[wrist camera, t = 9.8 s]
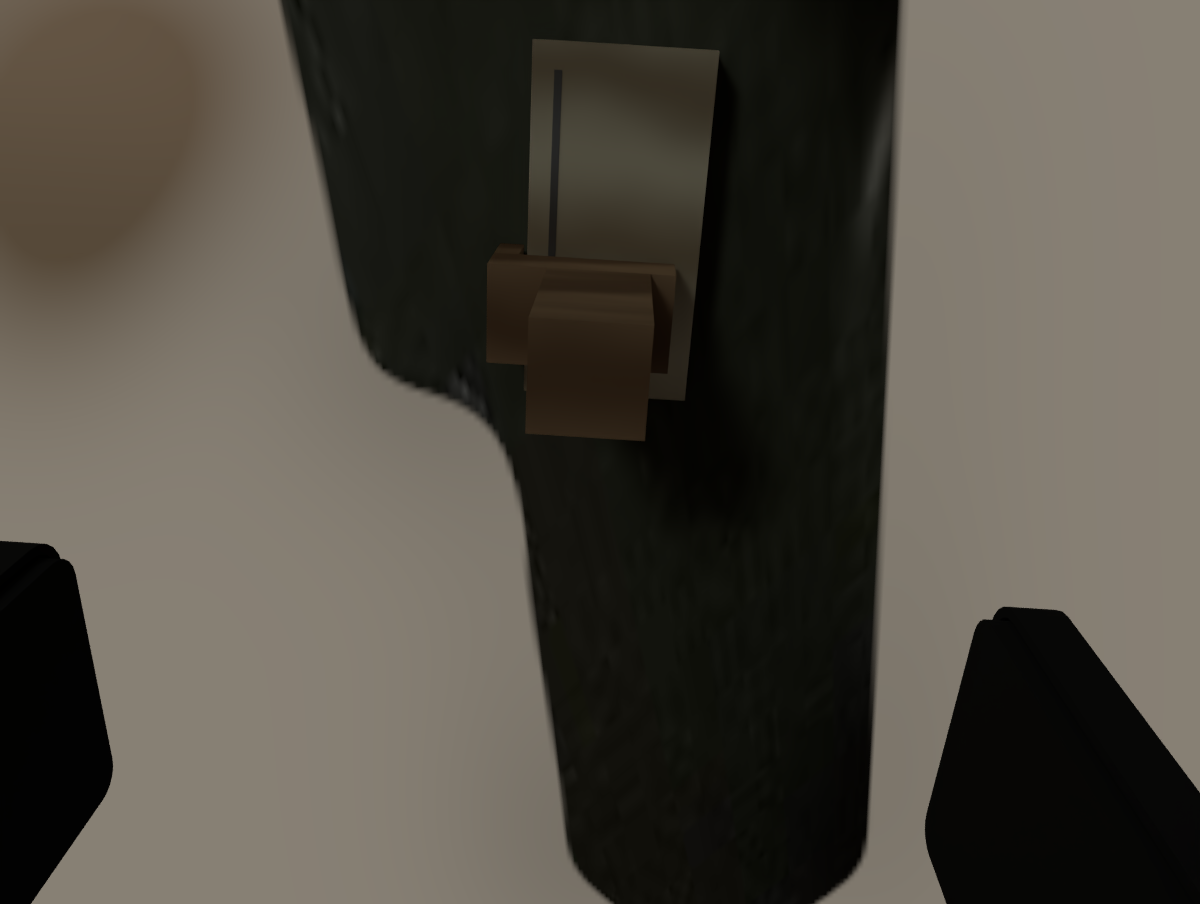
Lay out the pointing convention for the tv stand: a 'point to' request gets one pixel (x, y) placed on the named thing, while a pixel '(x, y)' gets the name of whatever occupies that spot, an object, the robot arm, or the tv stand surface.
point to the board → (623, 165)
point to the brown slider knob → (581, 338)
